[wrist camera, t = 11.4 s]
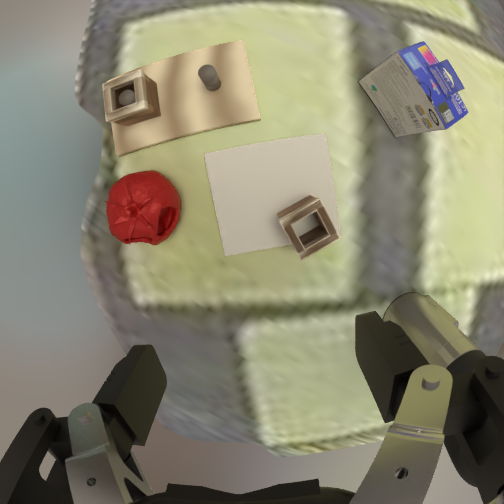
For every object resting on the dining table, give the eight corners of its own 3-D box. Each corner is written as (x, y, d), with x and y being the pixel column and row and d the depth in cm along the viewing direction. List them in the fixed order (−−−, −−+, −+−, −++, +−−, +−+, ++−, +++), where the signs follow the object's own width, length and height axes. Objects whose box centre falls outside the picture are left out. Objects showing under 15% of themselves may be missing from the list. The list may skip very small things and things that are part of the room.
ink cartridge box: (419, 123, 32) (483, 112, 18) (395, 140, 33) (458, 131, 19) (383, 67, 30) (435, 31, 16) (356, 81, 31) (404, 44, 17)
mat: (324, 133, 33) (325, 133, 33) (340, 235, 37) (340, 236, 37) (204, 154, 35) (203, 153, 34) (225, 255, 38) (225, 256, 38)
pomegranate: (111, 194, 36) (74, 202, 28) (164, 155, 35) (135, 151, 26) (144, 252, 39) (114, 273, 30) (200, 218, 37) (180, 232, 28)
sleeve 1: (157, 82, 31) (140, 69, 25) (161, 116, 32) (144, 107, 26) (123, 94, 31) (102, 84, 25) (127, 127, 32) (106, 121, 27)
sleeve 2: (310, 193, 35) (320, 198, 30) (328, 227, 37) (340, 238, 31) (275, 213, 36) (279, 221, 31) (294, 246, 38) (301, 260, 32)
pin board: (243, 43, 30) (241, 23, 24) (260, 120, 33) (261, 110, 27) (110, 83, 31) (89, 72, 25) (120, 156, 35) (98, 155, 29)
